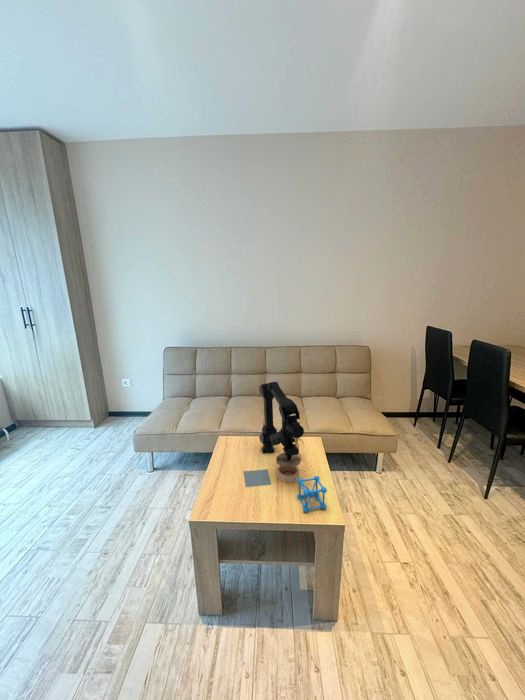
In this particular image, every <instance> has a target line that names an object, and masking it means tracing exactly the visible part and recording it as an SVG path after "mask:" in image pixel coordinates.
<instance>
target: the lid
mask: <svg viewBox="0 0 525 700" xmlns="http://www.w3.org/2000/svg"><path fill="white" fill-rule="evenodd" d="M275 458H276V464H277V465H278V466H282V467H286V468H291V467H295V466H297V467H298V465H299V464H300V459H299V457H298V456H297V455H292V457H291V459H290V460H287V455H285V453H284V452H283V453H282V452H281V453H279V454H278V455H277V456H276V457H275Z"/></svg>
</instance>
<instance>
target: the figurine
mask: <svg viewBox="0 0 525 700" xmlns="http://www.w3.org/2000/svg"><path fill="white" fill-rule="evenodd" d="M294 439H295V442H294V444H295V445H296V446H297V447H298V449H299V450H300V443H299V441H301V443H302V444H303V446H305V443H304V440H303V439H302V438H294ZM297 456H298V457H299V460H301V458H302V454H301V453H300V452H299V454H298V455H297Z"/></svg>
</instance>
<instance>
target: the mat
mask: <svg viewBox="0 0 525 700" xmlns="http://www.w3.org/2000/svg"><path fill="white" fill-rule="evenodd" d="M269 473H270V472H269V470H268V468H266V469H255V470H245V471H243V477H244V485H245V488H251V487H252V488H253V487H262V486H272V481H271V478H270V474H269Z"/></svg>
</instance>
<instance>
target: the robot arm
mask: <svg viewBox="0 0 525 700" xmlns="http://www.w3.org/2000/svg"><path fill="white" fill-rule="evenodd" d="M258 389H259V392H260V396H261V397H262V399H263V413H264V414H263V417H264V419H263V420H264V425H263V427H262V429H261V434H260V435H258V437H259V441H260V443H261V444H262V447H261V451H262V453H263V455H264V454H275V453H276V451H275V448H274V447H275V446H279V445H282V446H283V447H282V451H283V453H285V455H287V460H290V459H291V457H292V455H298V454H299V453H300V448H299V449H298V447H297V445H295V439H294V438H299V439H301V437H303V435H304V433H305V429H304V427H303V426H302V425H301V423H300V422H298V420H301V416H300V415H301V414H300V410H299V409H298V406H297V404H296V403H295V401H293V399H291V398H288V397H287V396H286V394H285V393H284V391H283V390H282V387H280V385H279V382H278V381H270V382H268V383H266V382H265V383H261V384H260V385H259V387H258ZM274 398H275V400H276V402H277V404H278V410H279V411H278V412H279V413H280V416H281V428H280V430H279V431H278V430H277V429H276V427H275V426H274V413H273V412H274V410H273V409H274V408H273V407H274V405H273V403H274V402H273V400H274Z"/></svg>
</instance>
